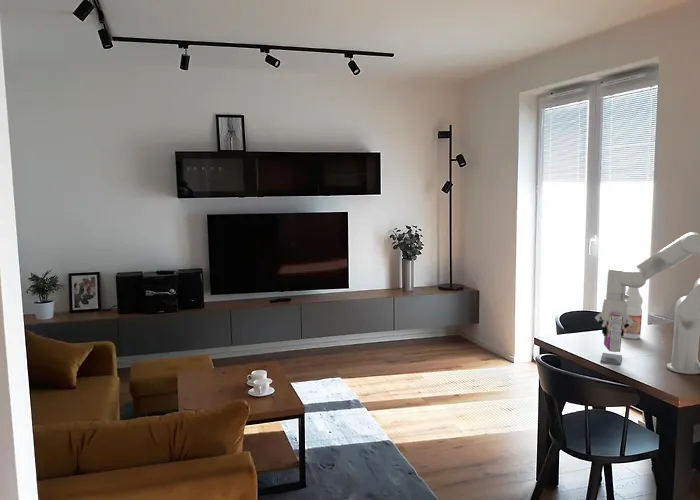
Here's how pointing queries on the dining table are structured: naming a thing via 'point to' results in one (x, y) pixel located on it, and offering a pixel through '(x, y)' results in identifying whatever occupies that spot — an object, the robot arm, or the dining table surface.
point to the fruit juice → (633, 314)
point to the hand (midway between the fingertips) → (612, 336)
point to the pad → (611, 358)
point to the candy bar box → (613, 332)
